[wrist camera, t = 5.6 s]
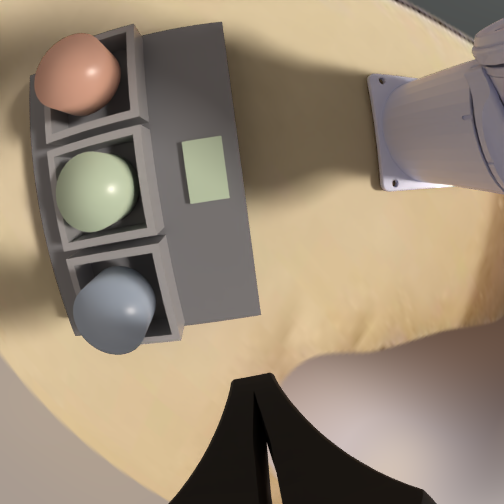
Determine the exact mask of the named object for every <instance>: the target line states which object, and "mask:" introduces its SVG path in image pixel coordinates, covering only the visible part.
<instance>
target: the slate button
mask: <svg viewBox="0 0 504 504" xmlns="http://www.w3.org/2000/svg"><path fill="white" fill-rule="evenodd" d="M155 309H156V298H155V294H154V291H153V289H152V286H151V285H150V283H149V282H148V281H147V279H146V278H145V277H144V276H143V275H141V274H140V273H139V272H137V271H136V270H134V269H131V268H129V267H125V266H112V267H109V268H106V269H104V270H103V271H101V272H100V273H99V274H98V275H97V276H96V277H95V278H94V279H93V280H92V281H90V282H89V283H88V284H87V285H86V286H85V287H84V288H83V289H82V290H81V291H80V292H79V293H78V295H77V296H76V298H75V301H74V305H73V316H74V321H75V324H76V326H77V329H78V330H79V332H80V334H81V335H82V336H83V338H84V339H85V340H86V341H87V342H88V343H89V344H91V345H92V346H93V347H95V348H96V349H98V350H100V351H102V352H105V353H109V354H115V355H121V354H126V353H129V352H132V351H133V350H135V349H136V348H137V347H138V346H139V345H140V344H141V343H142V341H143V339H144V337H145V334H146V332H147V330H148V327H149V325H150V323H151V320H152V318H153V315H154V313H155Z"/></svg>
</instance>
